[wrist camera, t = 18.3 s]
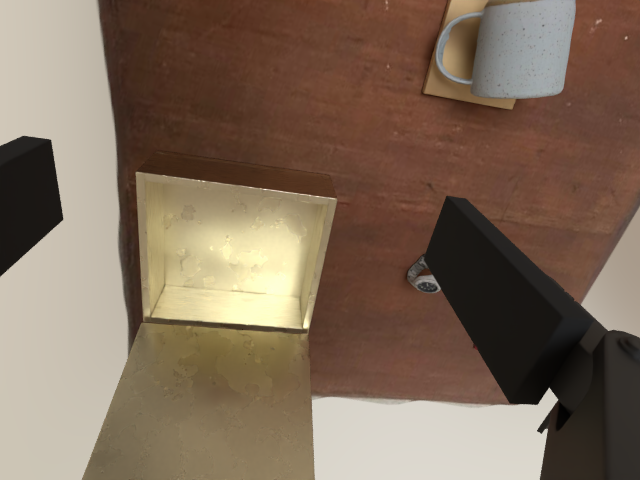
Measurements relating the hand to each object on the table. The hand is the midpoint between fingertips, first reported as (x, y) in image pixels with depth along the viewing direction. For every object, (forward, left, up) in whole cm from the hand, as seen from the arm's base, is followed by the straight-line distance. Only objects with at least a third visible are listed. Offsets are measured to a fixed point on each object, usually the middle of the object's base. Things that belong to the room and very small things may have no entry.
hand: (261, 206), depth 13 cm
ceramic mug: (-7, +20, -28) cm, 35 cm away
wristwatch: (+18, +22, -29) cm, 41 cm away
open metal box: (+17, -2, -29) cm, 33 cm away
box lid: (+27, -2, -12) cm, 30 cm away
